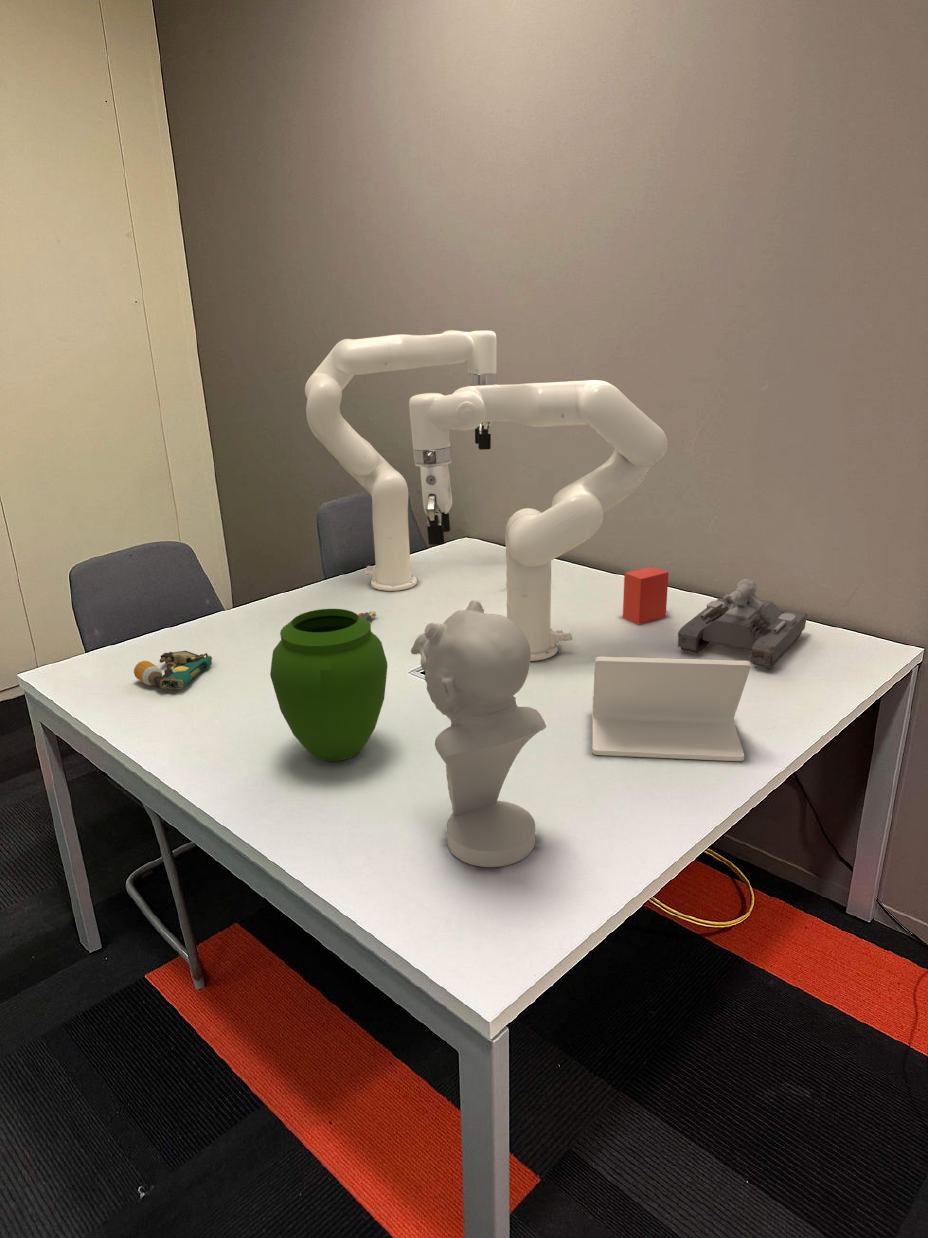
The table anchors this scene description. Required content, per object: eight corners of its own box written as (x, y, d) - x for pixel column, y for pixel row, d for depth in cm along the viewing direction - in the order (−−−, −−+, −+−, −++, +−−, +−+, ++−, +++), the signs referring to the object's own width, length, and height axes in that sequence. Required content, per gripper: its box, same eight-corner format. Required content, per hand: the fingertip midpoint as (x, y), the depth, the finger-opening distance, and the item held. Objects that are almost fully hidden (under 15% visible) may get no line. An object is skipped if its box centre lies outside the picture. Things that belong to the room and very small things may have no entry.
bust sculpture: (481, 772, 140) (476, 569, 128) (565, 848, 120) (569, 617, 108) (392, 800, 134) (378, 588, 121) (465, 886, 114) (457, 642, 101)
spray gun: (177, 659, 191) (231, 671, 185) (120, 684, 176) (176, 698, 171) (176, 641, 190) (230, 653, 184) (118, 665, 175) (174, 678, 169)
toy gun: (311, 634, 194) (352, 630, 192) (338, 611, 212) (376, 607, 210) (313, 645, 195) (354, 642, 193) (340, 621, 213) (378, 618, 211)
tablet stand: (744, 761, 141) (754, 667, 135) (592, 754, 145) (595, 663, 139) (728, 711, 158) (736, 626, 152) (592, 707, 162) (594, 623, 156)
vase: (415, 740, 151) (408, 611, 143) (343, 792, 136) (331, 651, 127) (331, 715, 161) (319, 593, 153) (256, 761, 146) (238, 628, 137)
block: (622, 617, 206) (624, 572, 202) (649, 610, 210) (651, 566, 206) (638, 624, 202) (641, 578, 198) (665, 616, 206) (668, 572, 202)
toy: (718, 618, 203) (723, 557, 198) (805, 634, 192) (812, 570, 187) (676, 653, 184) (680, 587, 179) (769, 673, 173) (777, 604, 168)
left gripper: (465, 377, 231) (466, 441, 237) (470, 383, 215) (471, 452, 221) (492, 377, 231) (493, 441, 237) (500, 383, 215) (500, 451, 221)
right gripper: (445, 463, 165) (452, 548, 171) (455, 447, 181) (461, 526, 187) (407, 465, 166) (415, 550, 172) (420, 450, 182) (428, 527, 188)
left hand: (482, 446), depth 229 cm, fingers open, 9 cm apart
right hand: (439, 537), depth 179 cm, fingers open, 9 cm apart
